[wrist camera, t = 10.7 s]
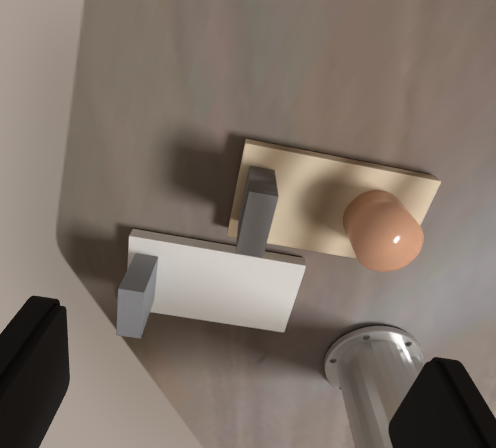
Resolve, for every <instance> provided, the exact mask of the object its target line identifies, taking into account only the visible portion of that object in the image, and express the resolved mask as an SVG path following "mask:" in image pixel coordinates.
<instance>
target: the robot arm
mask: <svg viewBox="0 0 496 448" xmlns="http://www.w3.org/2000/svg"><path fill="white" fill-rule="evenodd" d="M324 369H325V373H326V377H327V379H328V381H329V383H330V384H331V385H332V386H333V387H334V388H335V389H337V390H338V391H340V392H342V394H343V399H344V403H345V407H346V411H347V415H348V419H349V424H350V428H351V432H352V436H353V440H354V444H355V448H496V419H495V417H494V415H493V414H492V412H491V410H490V409H489V407H488V405H487V404H486V402H485V400H484V399H483V397H482V395H481V394H480V392H479V391H478V389H477V387H476V386H475V384H474V382H473V381H472V379H471V377H470V376H469V374H468V372H467V371H466V369H465V368H464V366H463V365H462V363H461V362H459V361H458V360H452V359H445V358H439V357H435V358H433V359H432V360H431V361H430V362H427V363H426V364H425V365H424V367H423V353H422V351H421V348H420V346H419V344H418V343H417V341H416V340H415V339H414V338H413V337H412V336H411V335H410V334H408V333H407V332H405V331H403V330H400V329H397V328H394V327H388V326H371V327H364V328H360V329H357V330H354V331H352V332H349V333H347V334H346V335H344V336H342V337H341V338H339V339H338V340H337V341H336V342H335V343H333V345H332V346H331V347H330V348H329V350H328V352H327V354H326V356H325V360H324ZM69 380H70V374H69V354H68V334H67V316H66V308H65V307H64V306H60V302H59V300H58V299H52V298H46V297H40V296H31V297H30V298H29V299H28V300H27V301H26V303H25V304H24V305H23V307H22V308H21V309H20V310H19V311H18V313H17V314H16V315H15V316H14V318H13V319H12V320H11V321H10V323H9V324H8V325H7V326H6V328H5V329H4V330H3V332H2V333H1V334H0V448H39V446H40V444H41V442H42V440H43V438H44V436H45V434H46V432H47V430H48V428H49V426H50V424H51V422H52V420H53V418H54V416H55V414H56V412H57V410H58V408H59V406H60V404H61V402H62V400H63V398H64V396H65V394H66V391H67V389H68V385H69Z"/></svg>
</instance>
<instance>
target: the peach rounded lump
mask: <svg viewBox="0 0 496 448" xmlns="http://www.w3.org/2000/svg"><path fill="white" fill-rule="evenodd" d="M343 227H344V230H345V232H346V234H347V236H348V239H349V241H350V243H351V246H352V248H353V250H354V252H355V255H356V257H357V259H358V260H359V262H360V263H361V264H362V265H363V266H365V267H366V268H368V269H371V270H374V271H380V272H387V271H393V270H396V269H399V268H402V267H404V266H405V265H407V264H408V263H410V262H411V261H412V260H413V259H414V258H415V257H416V256H417V255H418V253H419V252H420V250H421V248H422V245H423V239H424V238H423V231H422V229H421V227H420V225H419V224H418V223H417V221H416V220H415V219H414V218H413V216H412V215H411V214H410V213H409V212H408V210H407V209H406V208H405V207H404V205H403V204H402V203H401V202H400V200H399V199H398V198H397V197H396V196H395V195H393V194H391V193H389V192H386V191H380V190H375V191H369V192H366V193H363V194H361V195H359V196H358V197H356V198H355V199H353V200H352V201H351V202H350V204H349V205H348V206H347V208H346V210H345V212H344V215H343Z"/></svg>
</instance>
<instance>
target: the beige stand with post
mask: <svg viewBox="0 0 496 448" xmlns="http://www.w3.org/2000/svg"><path fill="white" fill-rule="evenodd" d="M440 183H441V181H440V180H439V179H438V178H437V177H436V176H434V175H429V174H424V173H418V172H413V171H408V170H403V169H398V168H393V167H388V166H383V165H378V164H373V163H368V162H362V161H357V160H352V159H347V158H342V157H337V156H332V155H327V154H322V153H317V152H311V151H306V150H301V149H296V148H291V147H286V146H281V145H276V144H271V143H266V142H261V141H255V140H250V139H245V144H244V149H243V155H242V160H241V165H240V170H239V175H238V180H237V185H236V190H235V195H234V200H233V206H232V211H231V216H230V221H229V226H228V232H227V236H230V237H236V238H237V245H236V253H237V254H243V255H249V256H255V257H260V258H263V255H264V251H265V248H266V244H267V243H270V244H276V245H282V246H287V247H293V248H299V249H305V250H311V251H316V252H322V253H328V254H334V255H339V256H345V257H351V258H357V257H356V255H355V252H354V250H353V248H352V246H351V243H350V241H349V239H348V236H347V234H346V232H345V230H344V227H343V215H344V212H345V210H346V208H347V206H348V205H349V204H350V202H351V201H352V200H353V199H355V198H356V197H358V196H359V195H361V194H363V193H366V192H369V191H375V190H380V191H386V192H389V193H391V194H393V195H395V196H396V197H397V198H398V199H399V200H400V202H401V203H402V204H403V205H404V207H405V208H406V209H407V210H408V212H409V213H410V214H411V215H412V216H413V218H414V219H415V220H416V221H417V223H418V224H419V225H421V223H422V221H423V219H424V217H425V215H426V213H427V210H428V208H429V206H430V204H431V202H432V200H433V198H434V196H435V194H436V192H437V190H438V187H439V185H440Z"/></svg>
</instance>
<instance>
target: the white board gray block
mask: <svg viewBox="0 0 496 448" xmlns="http://www.w3.org/2000/svg"><path fill="white" fill-rule="evenodd" d="M305 268H306V263H305V258H301V257H295V256H289V255H283V254H278V253H272V252H266V251H264V255H263V258H260V257H255V256H249V255H243V254H237V253H236V246H231V245H225V244H219V243H213V242H208V241H202V240H196V239H190V238H184V237H178V236H173V235H167V234H161V233H155V232H149V231H143V230H137V229H133V230H132V232H131V233H130V235H129V247H128V267H127V272H126V274H125V276H124V278H123V280H122V282H121V284H120V286H119V288H118V307H117V334H116V335H119V336H125V337H132V338H139V339H141V336H142V333H143V330H144V327H145V325H146V322H147V319H148V316H149V313H150V312H153V313H159V314H166V315H172V316H179V317H186V318H192V319H199V320H205V321H212V322H218V323H225V324H231V325H238V326H244V327H251V328H257V329H264V330H270V331H277V332H283V333H284V331H285V328H286V325H287V322H288V319H289V316H290V313H291V310H292V307H293V304H294V301H295V298H296V295H297V292H298V289H299V286H300V283H301V280H302V277H303V274H304V271H305Z"/></svg>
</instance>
